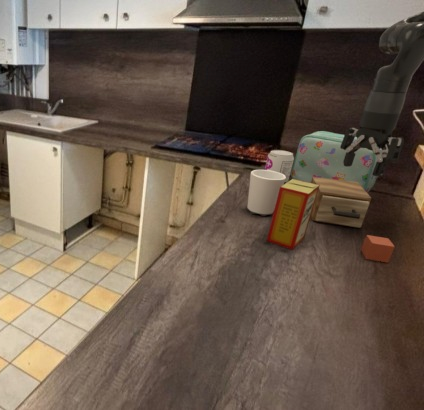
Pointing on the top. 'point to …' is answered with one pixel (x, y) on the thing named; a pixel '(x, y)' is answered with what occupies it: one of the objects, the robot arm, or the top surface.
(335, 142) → the lunch box
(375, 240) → the block
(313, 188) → the baking soda box
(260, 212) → the cup
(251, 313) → the top surface
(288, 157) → the supplement can
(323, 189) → the cabinet
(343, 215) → the drawer
